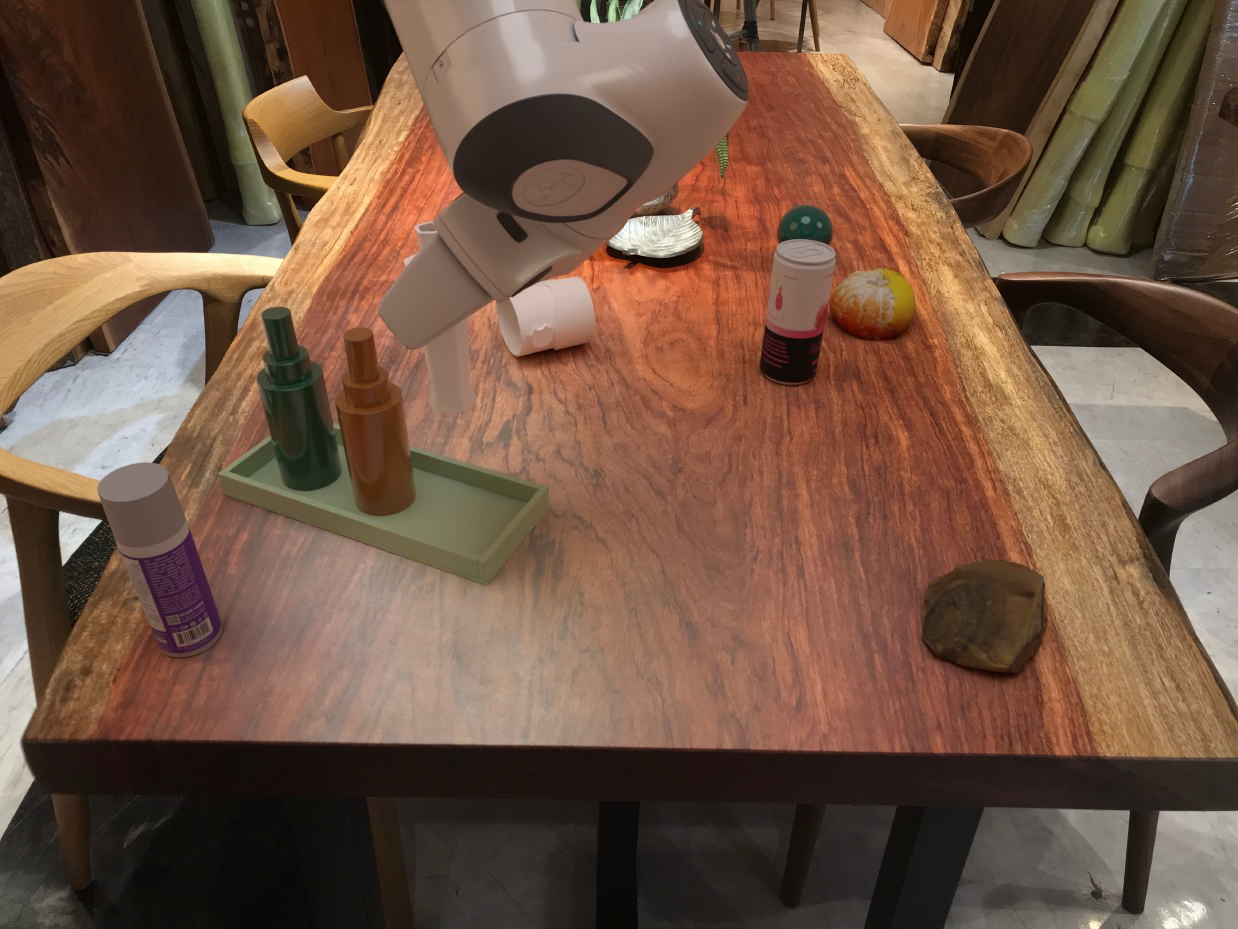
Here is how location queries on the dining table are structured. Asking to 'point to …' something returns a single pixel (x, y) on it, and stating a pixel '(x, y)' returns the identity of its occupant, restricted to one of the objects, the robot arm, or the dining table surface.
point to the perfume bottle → (447, 356)
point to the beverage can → (796, 310)
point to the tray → (408, 509)
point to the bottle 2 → (374, 431)
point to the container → (161, 558)
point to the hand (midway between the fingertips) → (435, 310)
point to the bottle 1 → (296, 408)
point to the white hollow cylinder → (547, 316)
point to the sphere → (805, 225)
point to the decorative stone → (986, 615)
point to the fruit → (873, 304)
